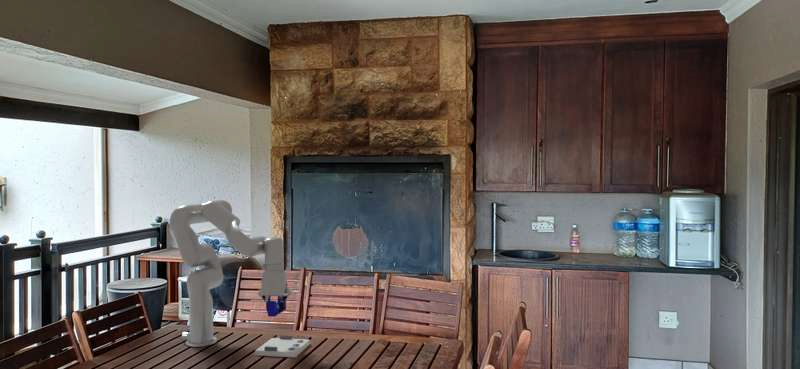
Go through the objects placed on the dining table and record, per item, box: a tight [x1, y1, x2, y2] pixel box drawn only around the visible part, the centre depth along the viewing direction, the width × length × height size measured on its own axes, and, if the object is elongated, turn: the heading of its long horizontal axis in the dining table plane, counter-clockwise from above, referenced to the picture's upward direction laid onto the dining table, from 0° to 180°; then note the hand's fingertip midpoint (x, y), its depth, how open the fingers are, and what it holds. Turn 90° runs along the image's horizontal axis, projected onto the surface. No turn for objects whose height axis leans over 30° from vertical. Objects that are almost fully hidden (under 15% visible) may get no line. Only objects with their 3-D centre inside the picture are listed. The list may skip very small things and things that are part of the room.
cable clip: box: [267, 294, 287, 317], centre depth 224 cm, size 12×4×6 cm, turn 170°
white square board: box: [254, 334, 311, 358], centre depth 223 cm, size 17×17×4 cm
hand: (275, 311), depth 223 cm, fingers closed on cable clip, 4 cm apart
